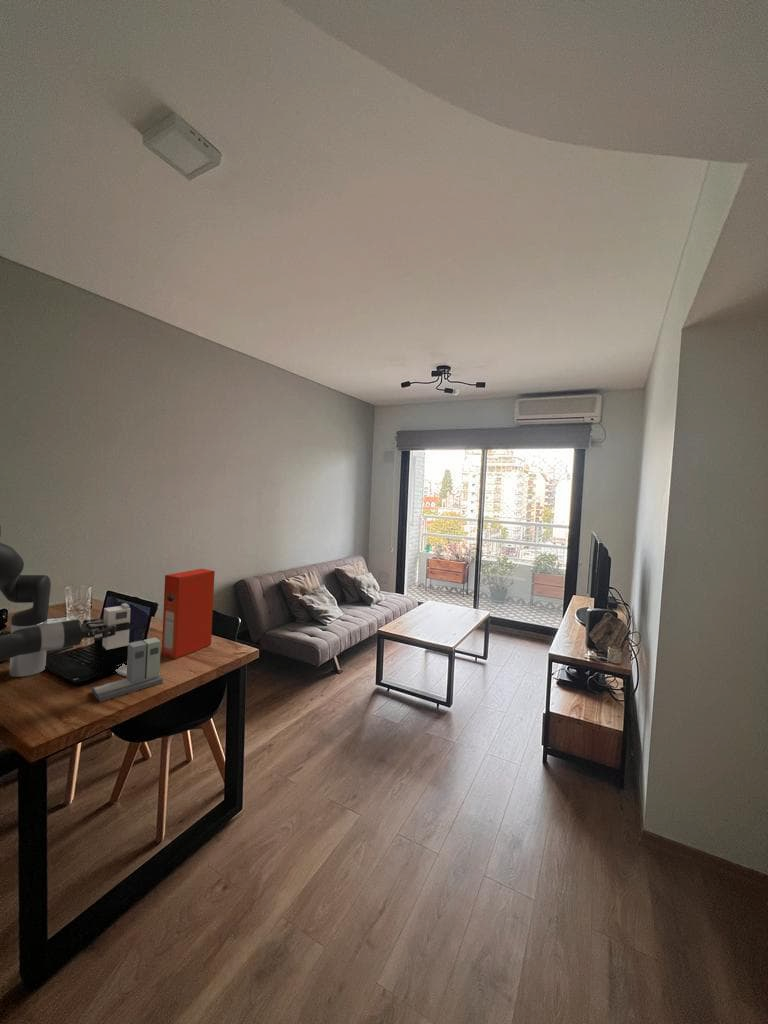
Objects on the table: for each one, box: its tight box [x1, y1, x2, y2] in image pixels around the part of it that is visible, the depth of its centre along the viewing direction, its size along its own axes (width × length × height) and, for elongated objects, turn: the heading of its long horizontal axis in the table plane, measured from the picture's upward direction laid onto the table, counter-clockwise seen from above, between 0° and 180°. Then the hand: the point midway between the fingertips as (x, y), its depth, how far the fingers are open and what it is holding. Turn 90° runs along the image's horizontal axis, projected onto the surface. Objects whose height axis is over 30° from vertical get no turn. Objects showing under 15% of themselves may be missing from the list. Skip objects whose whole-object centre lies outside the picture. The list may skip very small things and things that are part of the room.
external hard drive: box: [115, 663, 127, 678], centre depth 142 cm, size 2×8×12 cm
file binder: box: [161, 568, 215, 660], centre depth 162 cm, size 8×17×32 cm, turn 157°
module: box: [101, 602, 132, 651], centre depth 126 cm, size 5×6×13 cm
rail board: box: [91, 637, 164, 703], centre depth 130 cm, size 8×18×14 cm, turn 141°
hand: (126, 623), depth 128 cm, fingers closed on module, 4 cm apart
